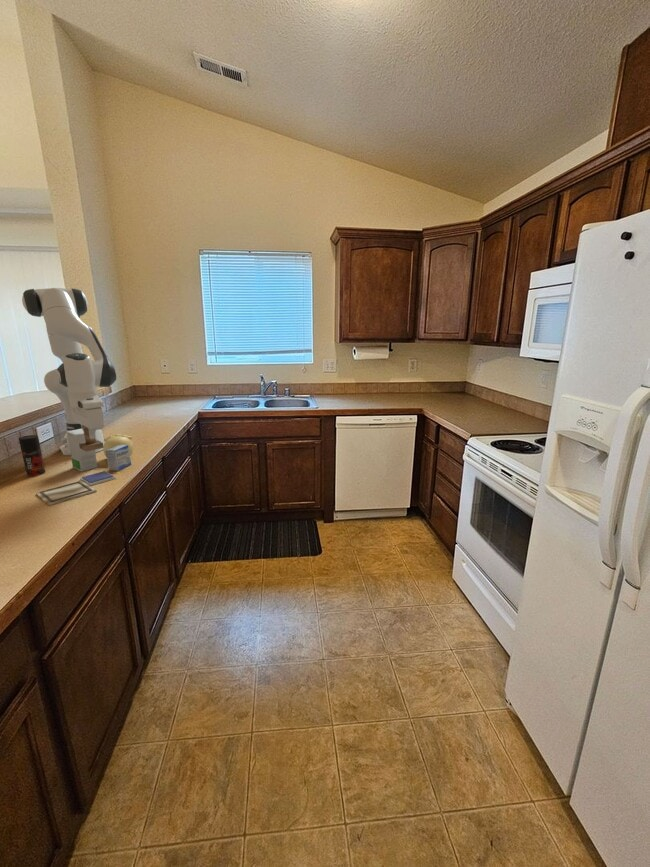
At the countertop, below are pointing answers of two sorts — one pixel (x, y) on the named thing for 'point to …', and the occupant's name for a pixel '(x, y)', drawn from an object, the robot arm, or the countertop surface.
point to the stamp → (90, 442)
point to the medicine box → (118, 457)
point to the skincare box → (80, 452)
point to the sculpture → (118, 442)
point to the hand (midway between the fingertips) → (89, 437)
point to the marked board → (65, 492)
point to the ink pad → (97, 478)
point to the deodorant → (32, 455)
